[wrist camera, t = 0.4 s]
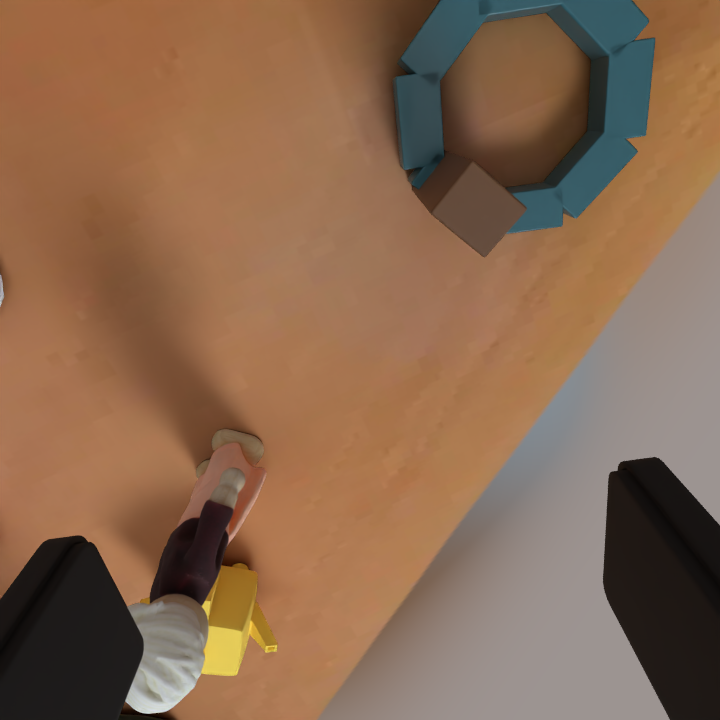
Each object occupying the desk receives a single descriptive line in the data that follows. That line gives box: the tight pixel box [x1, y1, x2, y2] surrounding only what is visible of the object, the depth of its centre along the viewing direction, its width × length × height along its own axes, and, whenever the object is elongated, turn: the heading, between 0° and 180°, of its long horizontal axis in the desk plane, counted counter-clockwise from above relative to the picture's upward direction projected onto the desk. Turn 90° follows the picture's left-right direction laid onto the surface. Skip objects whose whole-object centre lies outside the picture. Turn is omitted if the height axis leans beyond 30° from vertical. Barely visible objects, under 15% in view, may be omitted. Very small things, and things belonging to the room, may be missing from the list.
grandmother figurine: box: [125, 429, 266, 714], centre depth 22 cm, size 8×4×13 cm, turn 160°
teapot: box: [140, 563, 278, 676], centre depth 29 cm, size 8×6×5 cm
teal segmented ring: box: [393, 0, 655, 257], centre depth 18 cm, size 9×9×6 cm
